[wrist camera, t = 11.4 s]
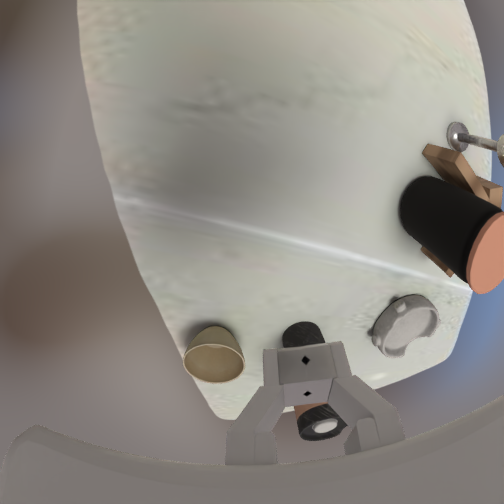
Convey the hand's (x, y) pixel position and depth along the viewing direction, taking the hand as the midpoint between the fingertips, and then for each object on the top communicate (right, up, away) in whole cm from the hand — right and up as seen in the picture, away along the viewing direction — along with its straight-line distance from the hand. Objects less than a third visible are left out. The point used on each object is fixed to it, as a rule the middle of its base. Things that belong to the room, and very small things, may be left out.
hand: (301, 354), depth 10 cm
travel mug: (+7, -11, +39) cm, 41 cm away
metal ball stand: (+32, +23, +23) cm, 46 cm away
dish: (+28, -10, +39) cm, 49 cm away
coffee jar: (+26, +12, +29) cm, 40 cm away
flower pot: (-8, -11, +38) cm, 40 cm away
